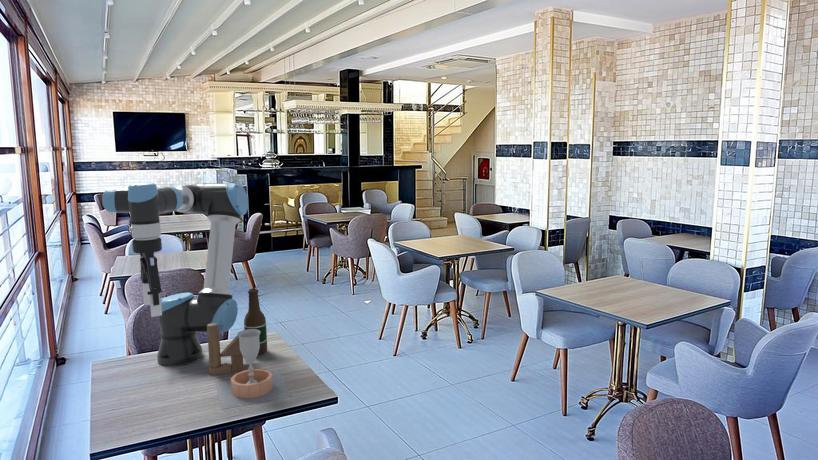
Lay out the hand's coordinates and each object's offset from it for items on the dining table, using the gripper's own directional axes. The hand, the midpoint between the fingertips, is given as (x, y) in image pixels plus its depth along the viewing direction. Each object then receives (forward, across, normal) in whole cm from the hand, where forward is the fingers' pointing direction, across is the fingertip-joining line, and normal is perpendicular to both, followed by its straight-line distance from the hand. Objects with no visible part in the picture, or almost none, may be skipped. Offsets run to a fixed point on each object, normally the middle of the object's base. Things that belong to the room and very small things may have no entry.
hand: (152, 310), depth 162 cm
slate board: (+29, +9, +25) cm, 39 cm away
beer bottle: (+29, -24, +37) cm, 53 cm away
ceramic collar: (+27, +9, +25) cm, 38 cm away
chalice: (+27, +9, +25) cm, 38 cm away
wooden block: (+29, -9, +22) cm, 38 cm away
